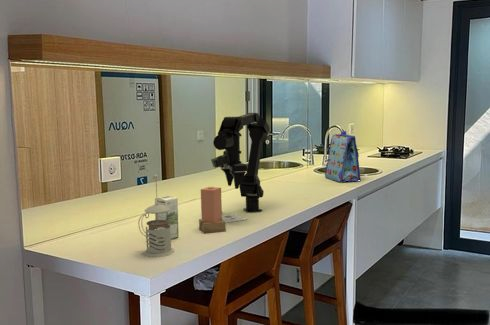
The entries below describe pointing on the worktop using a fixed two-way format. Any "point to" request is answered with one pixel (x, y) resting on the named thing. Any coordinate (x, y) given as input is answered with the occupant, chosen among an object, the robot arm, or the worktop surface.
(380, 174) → the worktop surface
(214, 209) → the tall brick
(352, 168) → the lunch bag
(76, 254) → the worktop surface
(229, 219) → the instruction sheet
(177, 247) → the worktop surface
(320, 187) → the worktop surface
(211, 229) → the base brick
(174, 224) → the syrup box
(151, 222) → the french press
